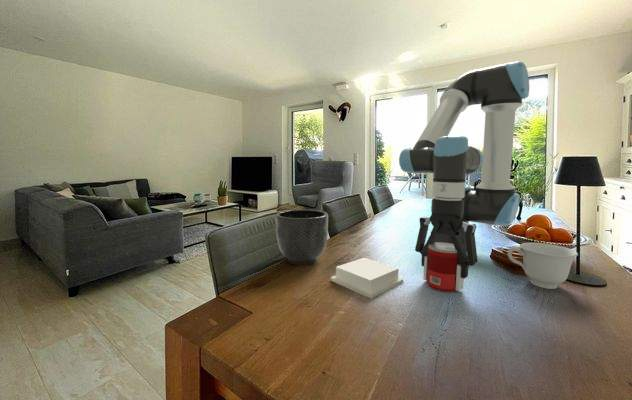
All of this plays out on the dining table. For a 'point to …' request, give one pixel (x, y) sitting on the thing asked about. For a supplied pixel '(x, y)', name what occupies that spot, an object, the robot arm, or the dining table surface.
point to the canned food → (442, 266)
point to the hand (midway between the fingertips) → (442, 283)
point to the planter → (302, 235)
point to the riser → (367, 277)
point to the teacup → (545, 263)
